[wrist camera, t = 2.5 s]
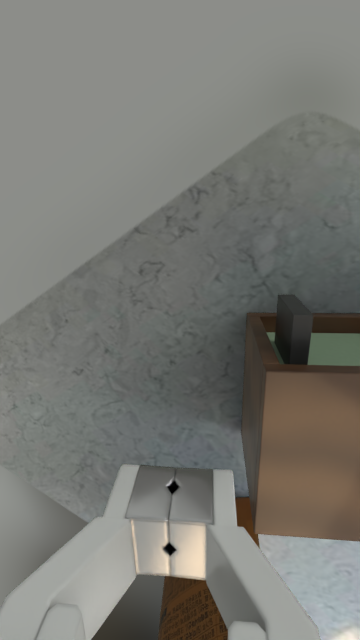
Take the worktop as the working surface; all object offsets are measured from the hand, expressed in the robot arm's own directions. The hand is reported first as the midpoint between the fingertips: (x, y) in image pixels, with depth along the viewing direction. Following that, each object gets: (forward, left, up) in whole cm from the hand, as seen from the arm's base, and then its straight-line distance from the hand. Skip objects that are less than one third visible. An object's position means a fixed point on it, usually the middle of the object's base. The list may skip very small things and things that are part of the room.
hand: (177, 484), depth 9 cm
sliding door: (-6, +8, -20) cm, 22 cm away
